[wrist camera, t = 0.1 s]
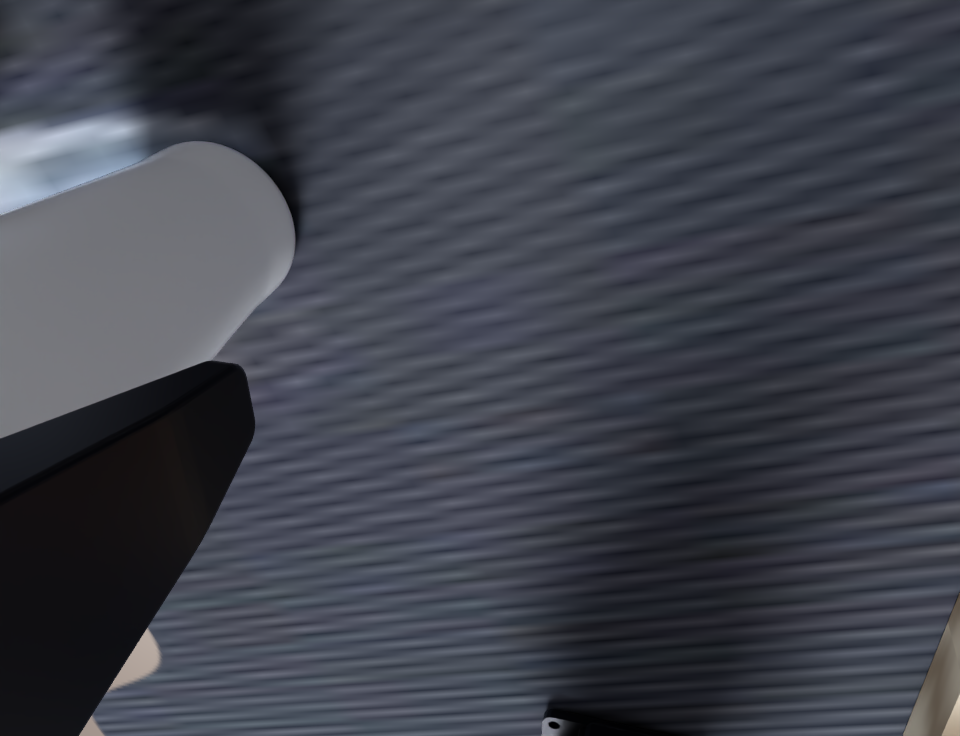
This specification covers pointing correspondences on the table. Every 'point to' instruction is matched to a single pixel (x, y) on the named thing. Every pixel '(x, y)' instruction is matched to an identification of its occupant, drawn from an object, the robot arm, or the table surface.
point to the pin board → (940, 687)
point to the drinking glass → (134, 277)
